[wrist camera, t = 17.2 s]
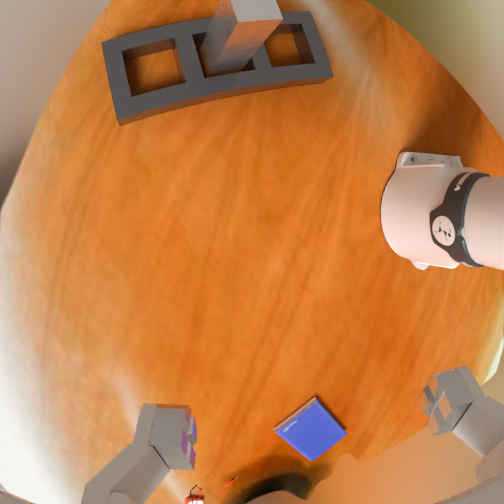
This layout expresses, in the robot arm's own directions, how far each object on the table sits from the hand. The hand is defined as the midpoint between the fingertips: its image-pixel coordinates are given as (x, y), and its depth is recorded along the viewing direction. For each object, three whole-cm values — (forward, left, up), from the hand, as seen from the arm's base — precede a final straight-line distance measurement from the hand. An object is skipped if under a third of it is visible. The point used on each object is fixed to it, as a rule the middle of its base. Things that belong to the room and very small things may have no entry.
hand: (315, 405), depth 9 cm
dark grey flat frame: (-9, -22, -29) cm, 37 cm away
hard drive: (-8, +34, -30) cm, 46 cm away
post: (-9, -22, -29) cm, 37 cm away
